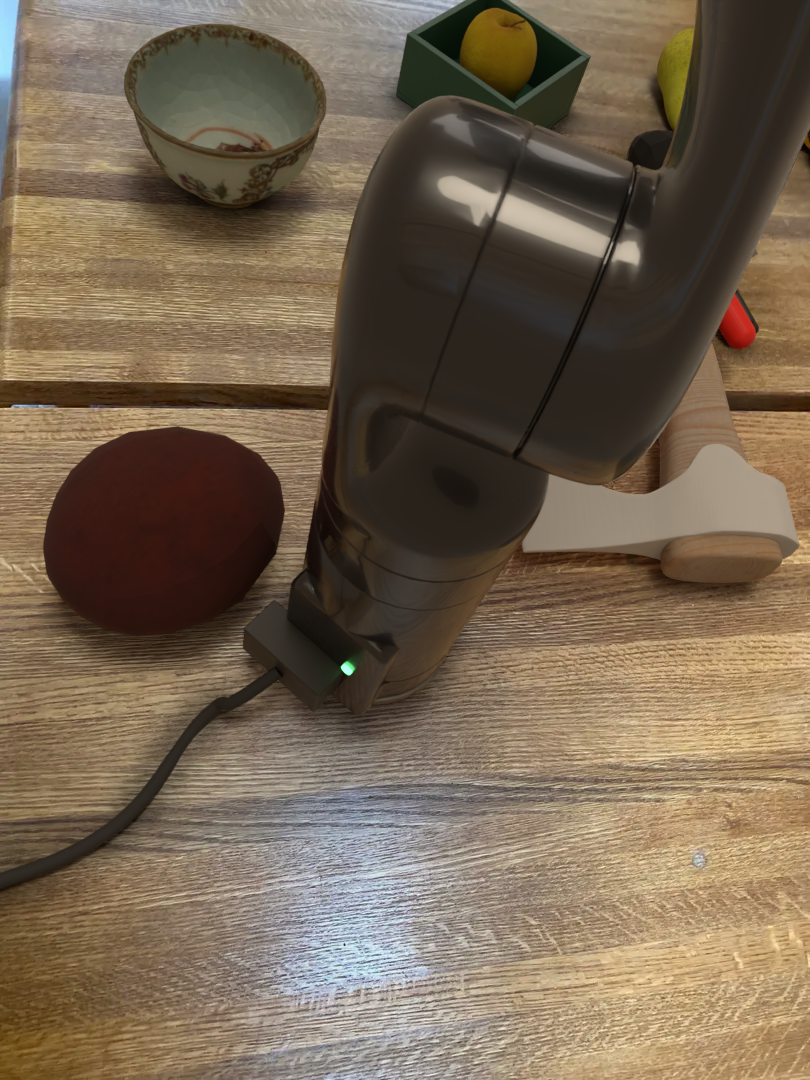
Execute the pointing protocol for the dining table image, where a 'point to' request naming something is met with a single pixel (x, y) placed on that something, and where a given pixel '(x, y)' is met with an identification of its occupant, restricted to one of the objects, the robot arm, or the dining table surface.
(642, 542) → the axe
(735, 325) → the toy gun
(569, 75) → the bin
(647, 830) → the dining table surface
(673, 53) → the fruit
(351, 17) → the dining table surface
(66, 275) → the dining table surface
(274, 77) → the bowl
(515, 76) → the apple
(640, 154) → the gaming mouse
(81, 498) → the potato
